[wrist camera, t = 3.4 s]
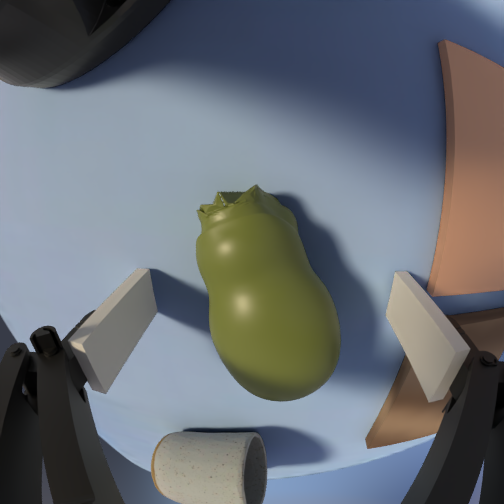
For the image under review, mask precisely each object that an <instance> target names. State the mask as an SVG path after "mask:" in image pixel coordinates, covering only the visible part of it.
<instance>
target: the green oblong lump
mask: <svg viewBox="0 0 504 504" xmlns="http://www.w3.org/2000/svg"><path fill="white" fill-rule="evenodd" d="M219 194H220V195H221V196H220V195H219ZM221 198H222V199H223V202H222V200H221ZM214 200H215V201H214V202H213V204H208V205H200V210H197V212H198V217H199V219H200V222H201V225H202V234H201V235H200V236H199V237H198V238H197V241H196V258H197V264H198V267H199V270H200V273H201V276H202V278H203V280H204V282H205V285H206V287H207V290H208V294H209V326H210V332H211V336H212V340H213V343H214V345H215V348H216V350H217V352H218V354H219V356H220V358H221V360H222V362H223V363H224V365H225V367H226V368H227V369H228V371H229V372H230V374H231V375H232V376H233V377H234V379H235V380H236V381H237V382H238V383H239V384H240V385H241V386H242V387H243V388H244V389H246V390H247V391H249V392H250V393H252V394H253V395H255V396H257V397H260V398H263V399H266V400H271V401H291V400H296V399H300V398H303V397H305V396H307V395H309V394H311V393H313V392H315V391H316V390H318V389H319V388H320V387H321V386H323V385H324V384H325V383H326V382H327V380H328V379H329V378H330V377H331V375H332V373H333V372H334V370H335V368H336V365H337V362H338V359H339V355H340V346H341V335H340V325H339V319H338V315H337V311H336V308H335V305H334V302H333V300H332V297H331V295H330V293H329V291H328V290H327V288H326V286H325V285H324V284H323V282H322V281H321V280H320V278H319V277H318V276H317V275H316V274H315V273H314V271H313V270H312V268H311V266H310V263H309V261H308V258H307V255H306V252H305V249H304V246H303V244H302V241H301V239H300V237H299V235H298V225H297V221H296V218H295V216H294V214H293V213H292V212H291V211H290V210H289V209H288V208H287V207H285V206H283V205H281V204H280V203H279V201H278V199H277V198H275V197H274V196H272V195H271V194H269V193H266V192H264V191H263V190H262V189H260V188H259V186H258V185H257V184H256V185H254V186H253V187H252V188H250V189H249V190H248V191H246V192H240V193H238V191H237V193H235V192H217V195H216V198H215V199H214ZM223 203H225V206H224V205H223Z"/></svg>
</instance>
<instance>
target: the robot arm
mask: <svg viewBox="0 0 504 504" xmlns="http://www.w3.org/2000/svg"><path fill="white" fill-rule="evenodd" d="M169 1H170V0H0V79H1V80H2V81H4V82H5V83H8V84H10V85H14V86H22V87H34V88H49V87H54V86H58V85H61V84H64V83H67V82H69V81H71V80H73V79H76V78H78V77H79V76H81V75H83V74H85V73H86V72H88V71H90V70H92V69H93V68H95V67H96V66H98V65H99V64H101V63H102V62H103V61H105V60H106V59H108V58H109V57H110V56H112V55H113V54H114V53H116V52H117V51H118V50H119V49H120V48H122V47H123V46H124V45H125V44H126V43H128V42H129V41H130V40H131V39H132V38H133V37H135V36H136V35H137V34H138V33H139V32H140V31H141V30H142V29H143V28H144V27H145V26H146V25H148V24H149V23H150V22H151V21H152V20H153V19H154V18H155V17H156V16H157V14H158V13H159V12H160V11H161V10H162V9H163V8H164V7H165V6H166V5H167V3H168V2H169ZM157 312H158V310H157V305H156V301H155V296H154V291H153V286H152V281H151V276H150V270H149V269H138V268H137V269H136V270H135V271H134V272H133V273H132V274H131V275H130V276H129V277H128V278H127V279H126V280H125V281H124V282H123V283H122V284H121V285H120V286H119V287H118V288H117V289H116V290H115V291H114V292H113V293H112V294H111V295H110V296H109V297H108V298H107V299H106V300H105V301H104V302H103V303H102V304H101V305H100V306H99V307H98V308H97V310H93V311H92V312H90V313H88V314H87V315H85V316H84V318H83V319H82V320H81V321H80V323H78V324H77V325H76V326H75V327H74V328H73V329H72V330H71V331H70V332H69V333H68V335H67V336H66V337H65V338H64V339H63V340H62V341H61V340H60V338H59V336H58V334H57V331H56V329H55V328H54V327H53V326H43V327H41V328H38V329H37V330H35V331H34V332H33V333H32V334H31V336H30V341H31V343H32V345H33V347H34V349H35V351H36V352H29V350H28V348H27V346H26V344H24V343H20V342H19V343H15V344H13V345H11V346H10V347H9V348H8V349H7V351H6V352H5V354H4V357H3V359H2V361H1V363H0V504H42V488H41V487H42V458H44V464H45V469H46V473H47V478H48V483H49V487H50V491H51V495H52V499H53V503H54V504H125V503H124V501H123V499H122V497H121V495H120V493H119V490H118V488H117V486H116V483H115V481H114V478H113V476H112V474H111V471H110V468H109V466H108V463H107V460H106V458H105V455H104V452H103V449H102V446H101V444H100V440H99V437H98V434H97V430H96V427H95V424H94V420H93V416H92V413H91V409H90V405H89V401H88V396H87V392H86V390H85V388H84V385H85V383H86V382H87V381H88V383H89V385H90V386H91V388H92V390H95V391H98V392H101V393H104V394H106V393H107V392H108V390H109V388H110V387H111V385H112V383H113V382H114V380H115V378H116V377H117V375H118V374H119V372H120V370H121V369H122V367H123V365H124V364H125V362H126V361H127V359H128V357H129V356H130V354H131V353H132V351H133V349H134V348H135V346H136V345H137V343H138V342H139V340H140V338H141V337H142V335H143V334H144V332H145V331H146V329H147V328H148V326H149V325H150V323H151V321H152V320H153V318H154V317H155V315H156V314H157ZM385 316H386V317H387V319H388V321H389V323H390V325H391V326H392V328H393V330H394V332H395V334H396V336H397V338H398V340H399V342H400V343H401V345H402V347H403V349H404V351H405V353H406V355H407V357H408V359H409V361H410V363H411V365H412V367H413V369H414V372H415V374H416V376H417V378H418V380H419V382H420V384H421V386H422V389H423V391H424V393H425V395H426V397H427V400H428V402H433V401H437V400H441V399H443V398H444V397H445V395H446V393H447V392H448V390H450V392H451V394H452V396H451V398H450V400H449V401H448V403H447V404H446V406H445V407H444V409H443V410H442V413H444V411H445V413H444V416H443V419H442V421H441V424H440V427H439V429H438V432H437V434H436V436H435V439H434V441H433V444H432V446H431V448H430V451H429V453H428V455H427V457H426V459H425V461H424V463H423V465H422V467H421V469H420V471H419V473H418V475H417V477H416V479H415V480H414V482H413V484H412V486H411V487H410V489H409V491H408V492H407V494H406V496H405V497H404V499H403V501H402V502H401V504H468V503H469V501H470V498H471V496H472V493H473V491H474V488H475V485H476V483H477V480H478V477H479V474H480V471H481V467H482V464H483V461H484V470H483V481H482V488H481V495H480V501H479V504H504V362H500V361H498V359H497V357H496V356H495V355H493V354H492V353H490V352H488V351H479V350H478V348H477V347H476V346H475V344H474V343H473V342H472V340H471V339H470V338H469V336H468V335H467V334H465V331H464V330H463V329H461V326H460V325H459V324H458V323H457V321H456V320H454V319H453V318H452V317H450V316H449V315H444V314H443V312H442V311H441V310H440V309H439V308H438V306H437V305H436V304H435V303H434V302H433V300H432V299H431V298H430V297H429V296H428V294H427V293H426V292H425V291H424V290H423V289H422V288H421V286H420V285H419V284H418V283H417V282H416V281H415V280H414V278H413V277H412V276H411V275H410V274H409V273H408V272H407V271H401V272H395V275H394V280H393V284H392V289H391V294H390V298H389V303H388V307H387V311H386V315H385ZM22 386H23V387H24V389H25V392H24V394H23V393H22Z"/></svg>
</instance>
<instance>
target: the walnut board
mask: <svg viewBox="0 0 504 504" xmlns="http://www.w3.org/2000/svg"><path fill="white" fill-rule="evenodd" d="M449 316H450V317H452V318H453V319H454V320H456V321H457V323H458V324H459V325H460V326H461V329H463V330H464V331H465V334H467V335H468V336H469V338H470V339H471V340H472V342H473V343H474V344H475V346H476V347H477V348H478V350H479V351H488V352H490V353H492V354H493V355H495V356H496V357H497V359H498V360H499V358H500V356H501V355H502V353H503V351H504V307H503V308H497V309H491V310H485V311H478V312H471V313H464V314H457V315H449ZM451 396H452V394H451V392H450V390H448V392H447V393H446V395H445V397H444V398H443V399H441V400H437V401H433V402H428V400H427V397H426V395H425V393H424V391H423V389H422V386H421V384H420V382H419V380H418V378H417V376H416V374H415V372H414V369H413V367H412V365H411V363H410V361H409V359H408V357H407V355H405V357H404V360H403V362H402V365H401V367H400V370H399V372H398V374H397V377H396V379H395V381H394V384H393V386H392V388H391V390H390V392H389V395H388V397H387V399H386V401H385V403H384V405H383V407H382V409H381V411H380V413H379V415H378V417H377V419H376V421H375V422H374V424H373V426H372V428H371V430H370V432H369V433H368V435H367V437H366V439H365V440H366V445H367V449H370V448H376V447H382V446H387V445H392V444H397V443H401V442H405V441H410V440H414V439H417V438H421V437H425V436H428V435H432V434H435V433H437V432H438V429H439V427H440V424H441V421H442V419H443V416H444V413H445V411H444V413H442V410H443V409H444V407H445V406H446V404H447V403H448V401H449V400H450V398H451Z"/></svg>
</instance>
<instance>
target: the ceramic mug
mask: <svg viewBox="0 0 504 504" xmlns="http://www.w3.org/2000/svg"><path fill="white" fill-rule="evenodd" d="M151 473H152V478H153V481H154V484H155V486H156V488H157V489H158V491H159V492H160V493H161V494H162V495H164V496H165V497H168V498H169V499H172V500H174V501H176V502H179V503H182V504H262V503H263V500H264V497H265V491H266V485H267V458H266V450H265V447H264V443H263V440H262V438H261V436H260V435H259V434H258V433H255V432H246V433H202V432H175V433H170V434H168V435H166V436H165V437H163V438H162V440H161V441H160V442H159V443H158V444H157V446H156V448H155V450H154V453H153V456H152V461H151Z"/></svg>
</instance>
